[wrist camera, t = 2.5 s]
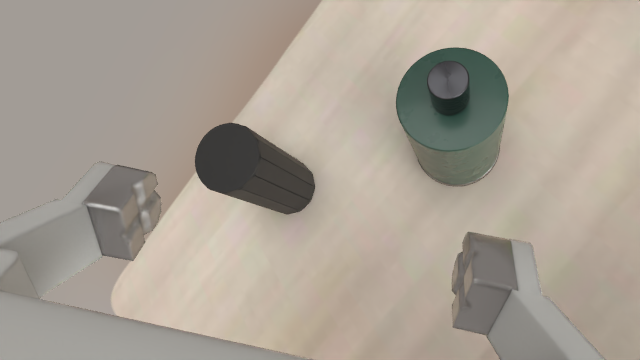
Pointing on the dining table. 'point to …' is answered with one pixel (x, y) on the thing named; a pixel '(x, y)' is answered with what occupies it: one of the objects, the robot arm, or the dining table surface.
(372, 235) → the dining table surface
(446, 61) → the flask
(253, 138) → the ribbed black grip post
